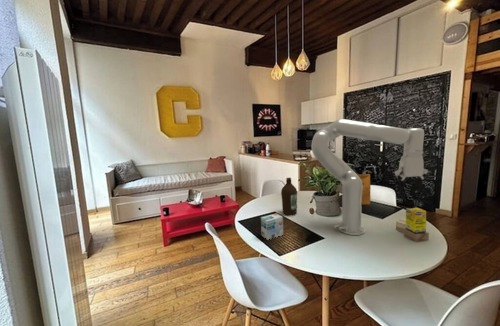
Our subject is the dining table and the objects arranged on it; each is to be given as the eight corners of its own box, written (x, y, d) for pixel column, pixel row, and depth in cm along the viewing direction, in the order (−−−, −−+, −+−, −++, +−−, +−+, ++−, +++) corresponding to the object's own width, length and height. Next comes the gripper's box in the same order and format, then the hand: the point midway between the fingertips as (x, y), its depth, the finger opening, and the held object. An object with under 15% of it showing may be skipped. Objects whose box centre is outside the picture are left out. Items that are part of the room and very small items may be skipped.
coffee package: (350, 200, 173) (351, 172, 170) (368, 201, 169) (369, 172, 166) (352, 204, 164) (352, 175, 161) (371, 205, 160) (371, 175, 157)
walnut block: (416, 242, 108) (417, 235, 107) (403, 236, 115) (404, 229, 114) (428, 240, 109) (428, 232, 109) (415, 234, 116) (415, 227, 115)
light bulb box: (267, 240, 118) (266, 221, 116) (261, 235, 124) (260, 217, 122) (284, 235, 123) (283, 216, 121) (277, 230, 128) (276, 212, 127)
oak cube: (405, 233, 117) (405, 224, 117) (395, 229, 122) (396, 220, 121) (411, 231, 119) (411, 222, 119) (401, 227, 124) (402, 219, 123)
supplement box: (415, 233, 108) (415, 212, 107) (405, 228, 114) (405, 208, 113) (426, 232, 108) (426, 210, 107) (416, 227, 114) (416, 207, 113)
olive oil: (278, 213, 154) (277, 178, 150) (288, 209, 161) (287, 175, 157) (291, 217, 146) (290, 180, 143) (300, 212, 153) (299, 177, 150)
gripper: (421, 152, 114) (418, 184, 117) (390, 153, 112) (388, 186, 115) (435, 153, 107) (432, 188, 109) (402, 155, 105) (399, 190, 107)
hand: (409, 187), depth 112 cm, fingers open, 9 cm apart
